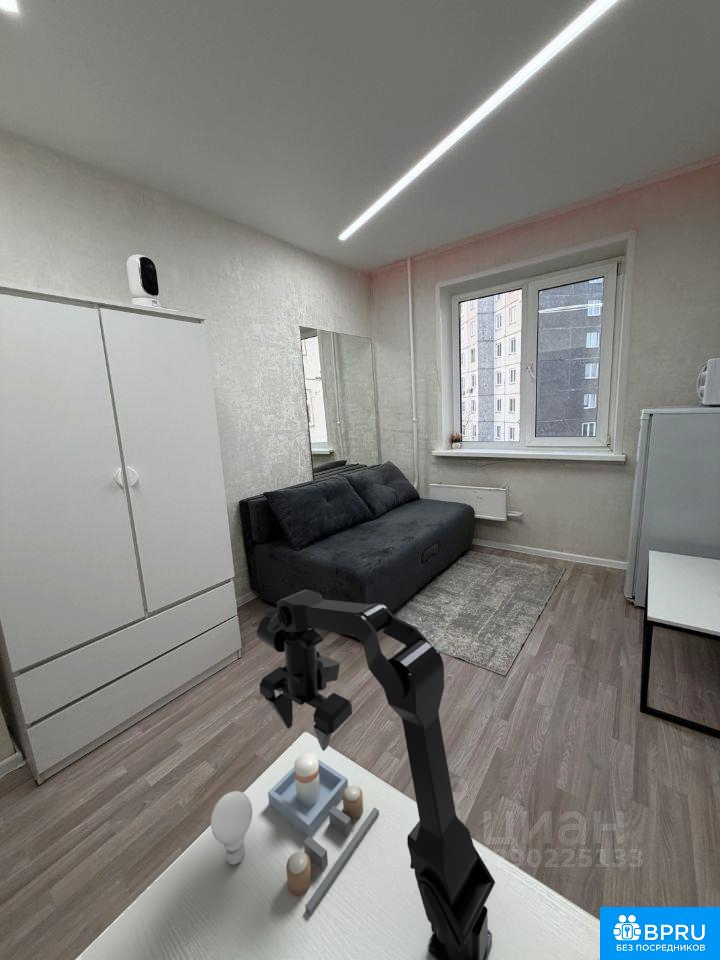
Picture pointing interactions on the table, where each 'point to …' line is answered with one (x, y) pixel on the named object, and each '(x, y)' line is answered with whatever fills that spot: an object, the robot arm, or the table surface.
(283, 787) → the tray
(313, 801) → the cylinder
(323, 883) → the grey bar and blocks
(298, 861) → the cylinder
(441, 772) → the robot arm
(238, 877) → the table surface
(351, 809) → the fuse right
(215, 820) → the lightbulb
